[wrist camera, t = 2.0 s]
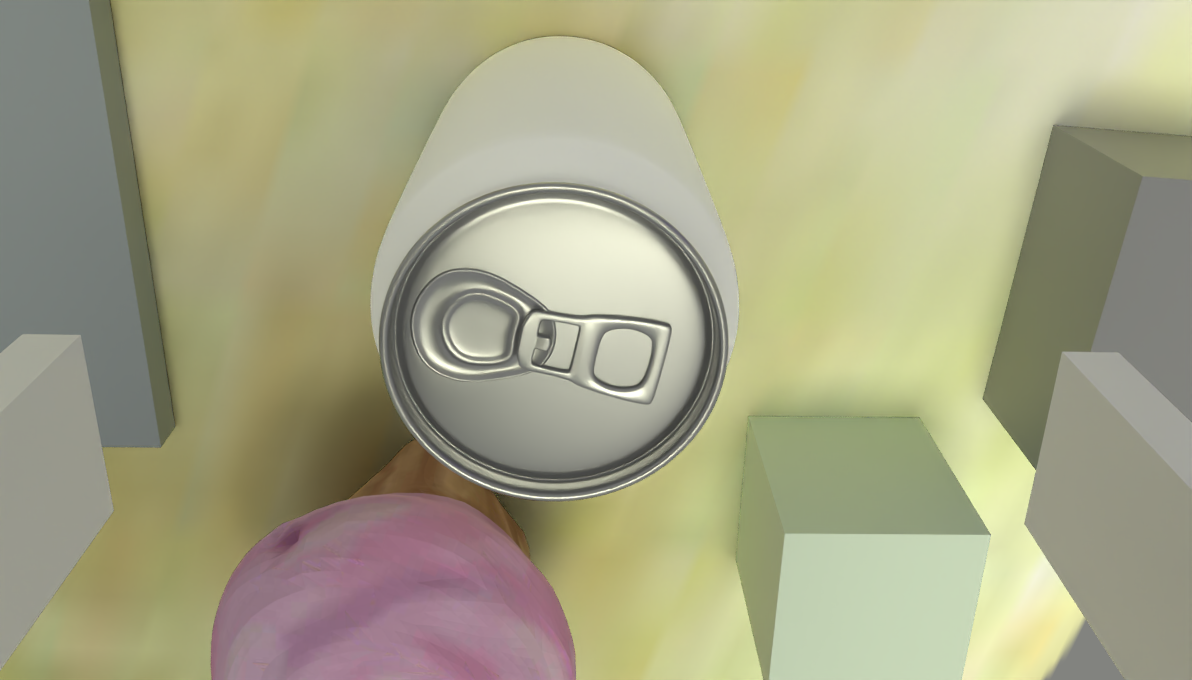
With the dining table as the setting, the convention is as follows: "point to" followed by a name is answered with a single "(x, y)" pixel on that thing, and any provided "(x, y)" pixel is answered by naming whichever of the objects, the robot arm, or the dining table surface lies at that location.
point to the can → (555, 278)
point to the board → (78, 212)
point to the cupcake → (394, 590)
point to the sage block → (856, 550)
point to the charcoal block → (1099, 273)
